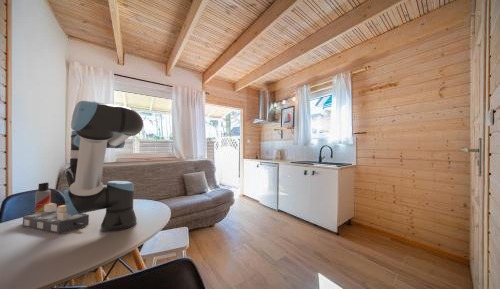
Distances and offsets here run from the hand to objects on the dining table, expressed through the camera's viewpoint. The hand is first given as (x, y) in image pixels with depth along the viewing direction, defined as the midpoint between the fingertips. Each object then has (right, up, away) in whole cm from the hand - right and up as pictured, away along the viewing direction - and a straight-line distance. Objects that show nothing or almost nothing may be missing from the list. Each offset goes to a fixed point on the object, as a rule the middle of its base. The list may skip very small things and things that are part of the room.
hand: (77, 198), depth 101 cm
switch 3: (-11, -6, -4) cm, 13 cm away
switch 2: (-1, -6, -7) cm, 9 cm away
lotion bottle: (-21, -11, 0) cm, 24 cm away
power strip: (0, -11, -10) cm, 15 cm away
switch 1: (+7, -6, -14) cm, 17 cm away
